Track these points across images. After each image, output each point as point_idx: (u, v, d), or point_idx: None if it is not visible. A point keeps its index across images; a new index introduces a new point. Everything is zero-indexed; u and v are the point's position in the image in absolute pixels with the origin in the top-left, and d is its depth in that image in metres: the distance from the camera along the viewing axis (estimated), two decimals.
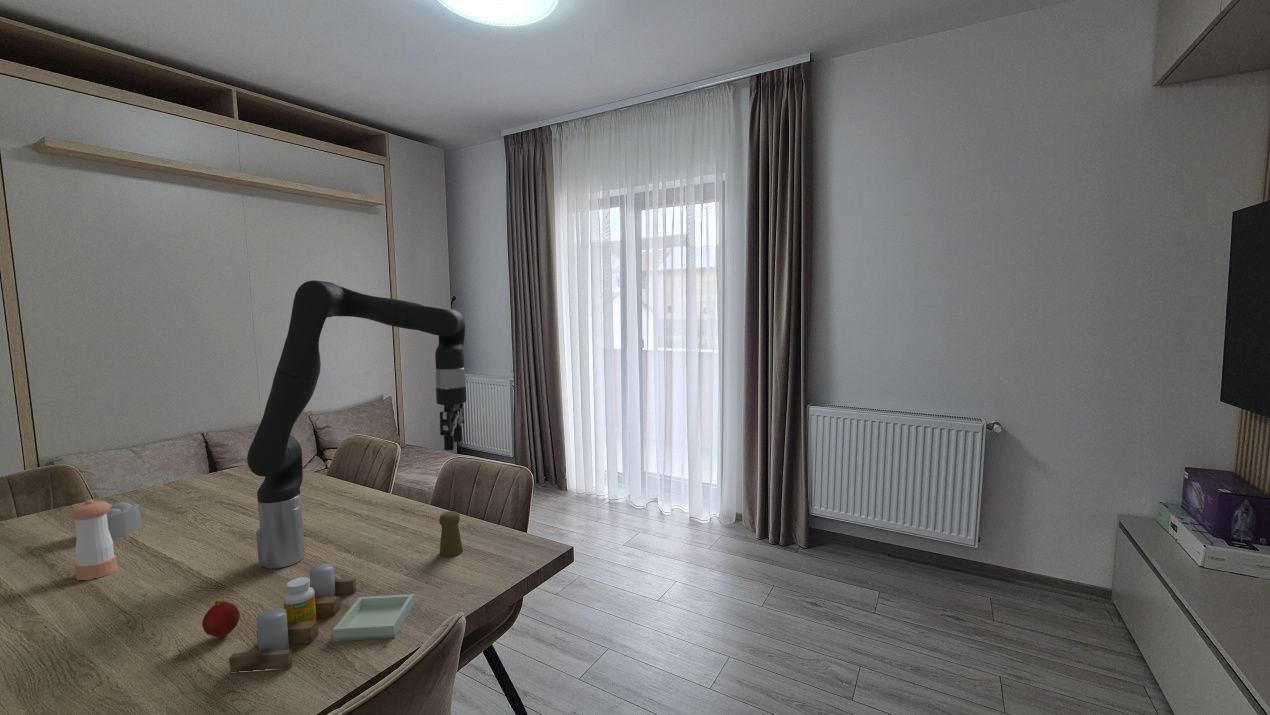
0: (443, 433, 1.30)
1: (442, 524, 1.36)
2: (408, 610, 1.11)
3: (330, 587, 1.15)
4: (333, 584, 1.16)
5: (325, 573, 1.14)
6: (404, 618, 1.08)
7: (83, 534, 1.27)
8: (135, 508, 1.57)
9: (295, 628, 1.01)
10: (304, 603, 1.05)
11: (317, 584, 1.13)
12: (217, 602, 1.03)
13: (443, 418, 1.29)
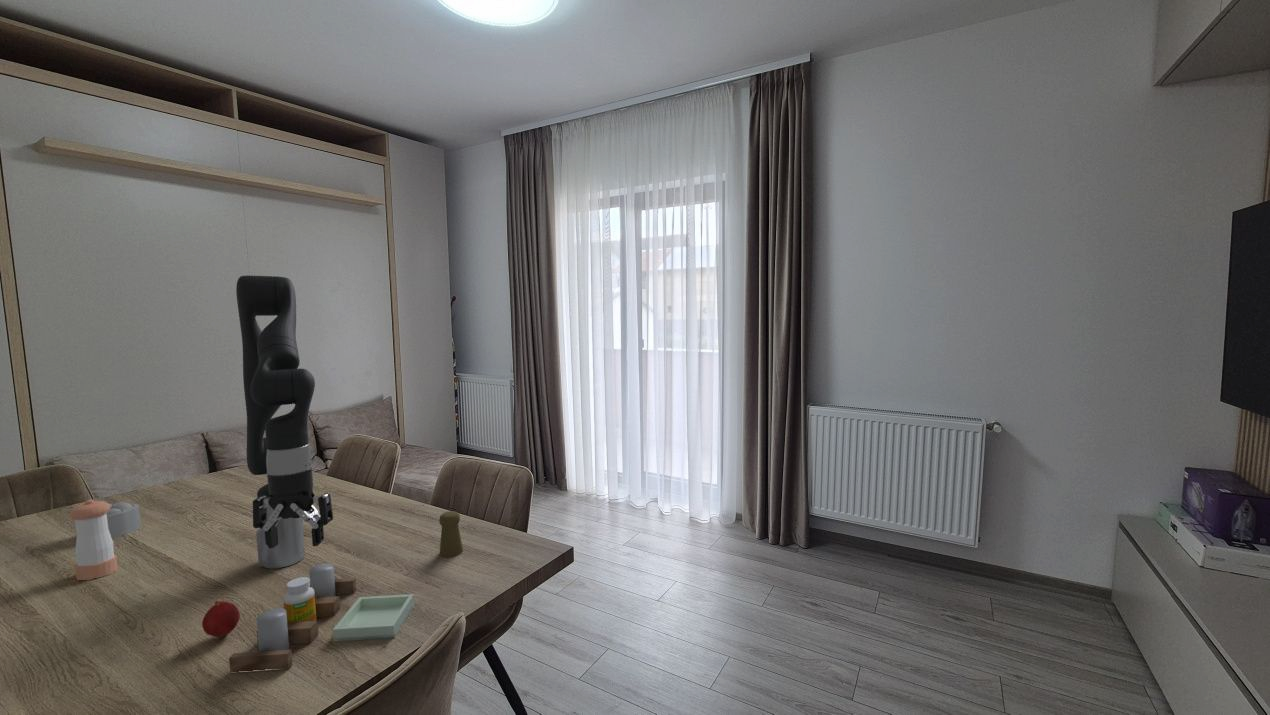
0: (328, 521, 1.05)
1: (442, 524, 1.36)
2: (408, 610, 1.11)
3: (330, 587, 1.15)
4: (333, 584, 1.16)
5: (325, 573, 1.14)
6: (404, 618, 1.08)
7: (83, 534, 1.27)
8: (135, 508, 1.57)
9: (295, 628, 1.01)
10: (304, 603, 1.05)
11: (317, 584, 1.13)
12: (217, 602, 1.03)
13: (327, 502, 1.05)
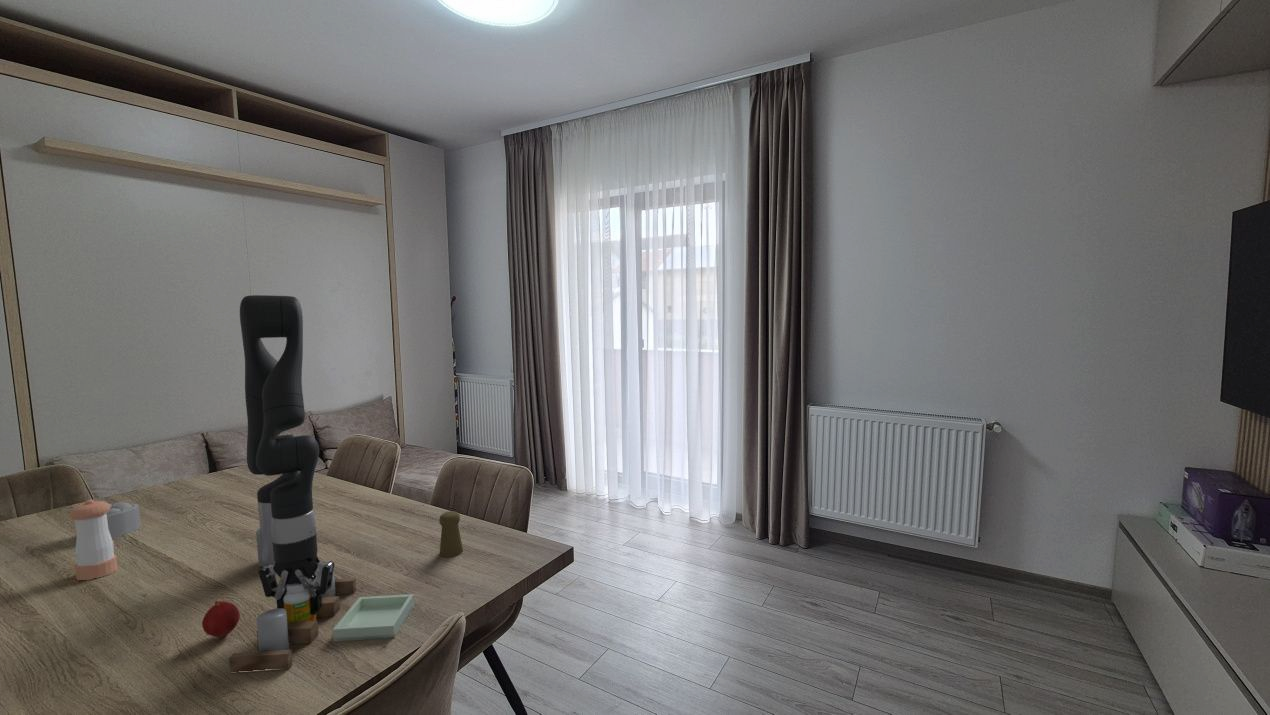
0: (326, 590, 1.06)
1: (442, 524, 1.36)
2: (408, 610, 1.11)
3: (330, 587, 1.15)
4: (333, 584, 1.16)
5: None
6: (404, 618, 1.08)
7: (83, 534, 1.27)
8: (135, 508, 1.57)
9: (295, 628, 1.01)
10: (304, 603, 1.05)
11: None
12: (217, 602, 1.03)
13: (329, 572, 1.06)
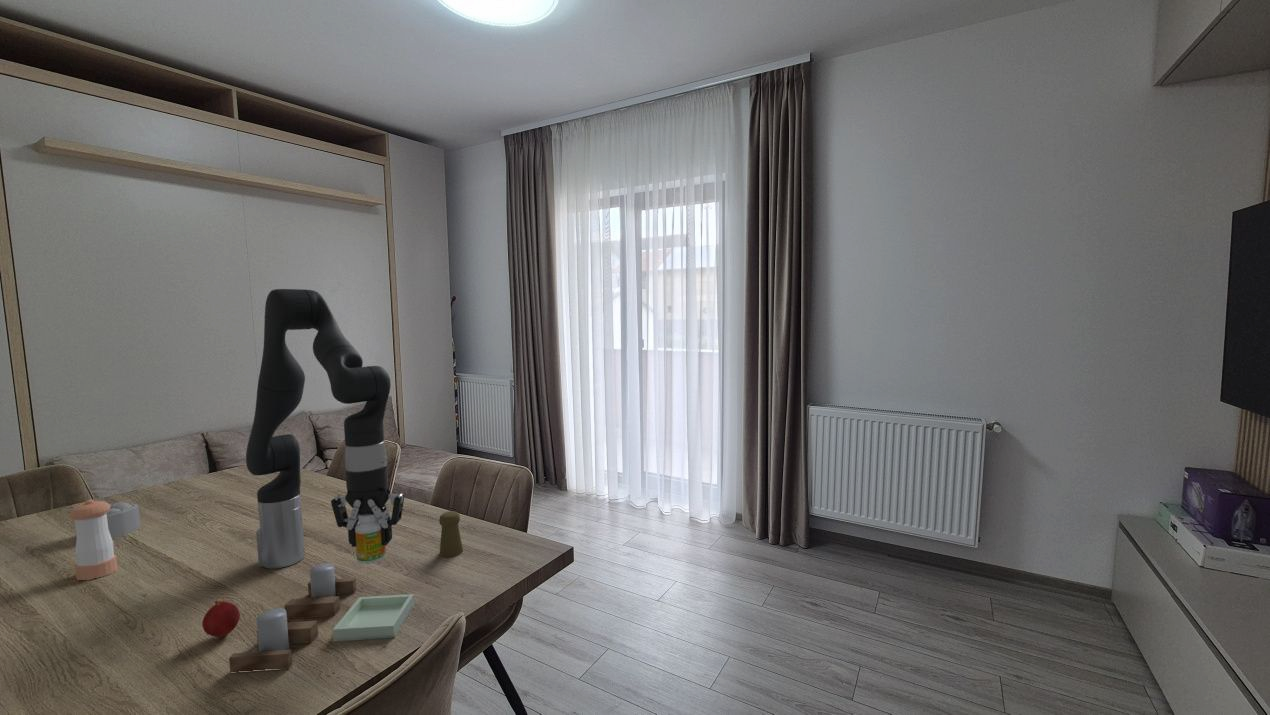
0: (397, 521, 1.06)
1: (442, 524, 1.36)
2: (408, 610, 1.11)
3: (330, 587, 1.15)
4: (333, 584, 1.16)
5: (326, 573, 1.14)
6: (404, 618, 1.08)
7: (83, 534, 1.27)
8: (134, 508, 1.57)
9: (295, 628, 1.01)
10: (376, 534, 1.05)
11: (318, 584, 1.13)
12: (217, 602, 1.03)
13: (401, 503, 1.06)
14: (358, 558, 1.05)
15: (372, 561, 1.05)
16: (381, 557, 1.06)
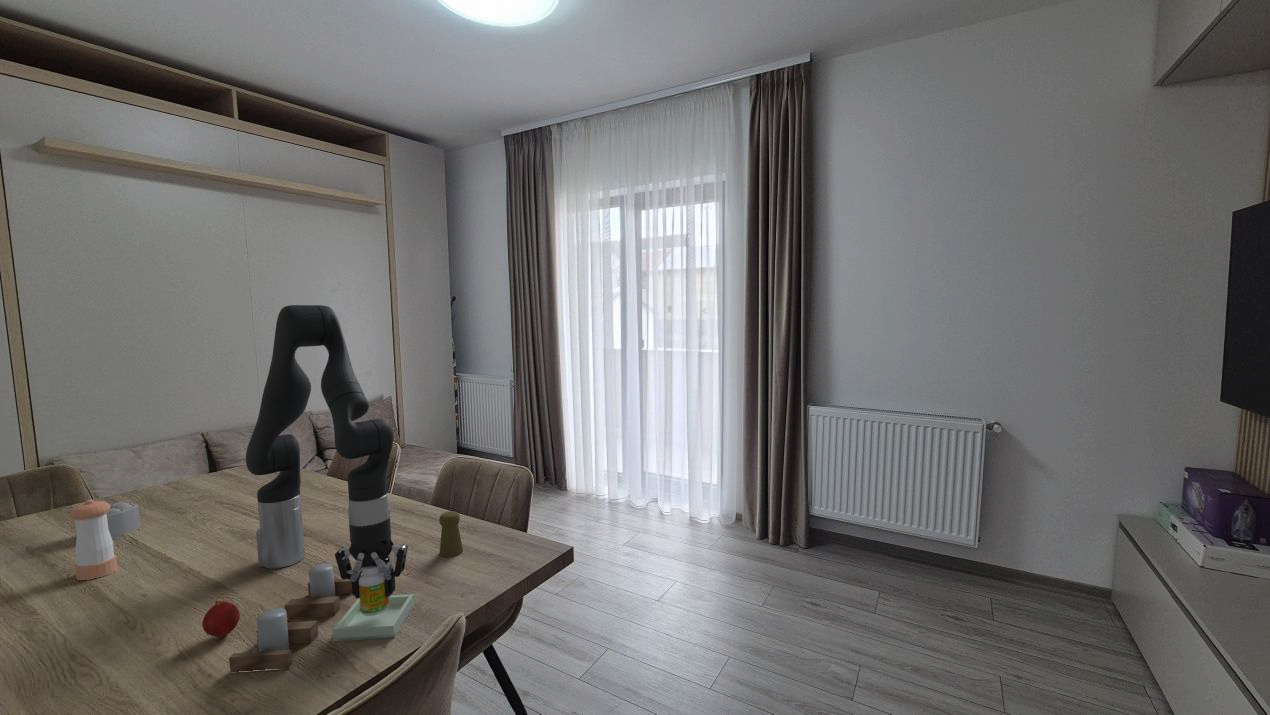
0: (400, 572, 1.07)
1: (442, 524, 1.36)
2: (408, 610, 1.11)
3: (330, 587, 1.15)
4: (333, 584, 1.16)
5: (325, 573, 1.14)
6: (404, 618, 1.08)
7: (83, 534, 1.27)
8: (134, 508, 1.57)
9: (295, 628, 1.01)
10: (379, 586, 1.06)
11: (317, 585, 1.13)
12: (217, 602, 1.03)
13: (404, 555, 1.07)
14: (362, 610, 1.06)
15: (376, 613, 1.05)
16: (384, 608, 1.07)
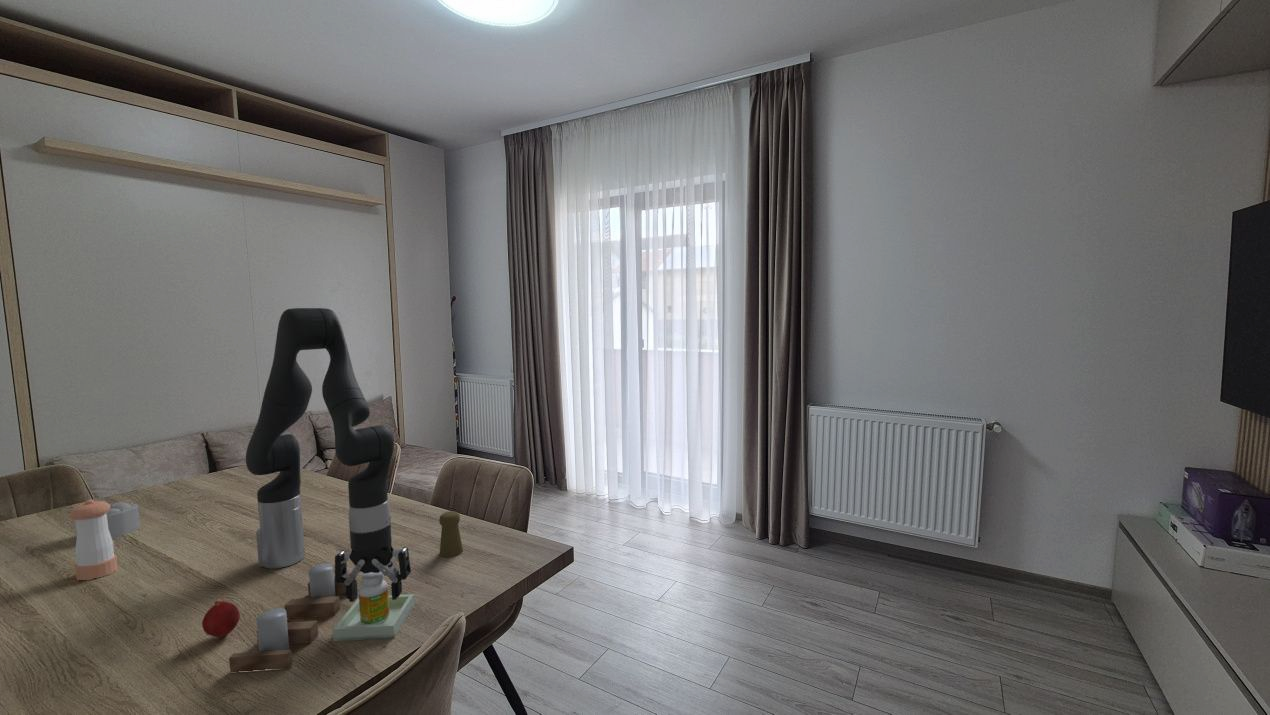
0: (407, 575, 1.07)
1: (442, 524, 1.36)
2: (408, 610, 1.11)
3: (331, 587, 1.15)
4: (333, 583, 1.16)
5: (325, 573, 1.14)
6: (404, 618, 1.08)
7: (83, 534, 1.27)
8: (134, 508, 1.57)
9: (295, 628, 1.01)
10: (379, 596, 1.06)
11: (318, 585, 1.13)
12: (217, 602, 1.03)
13: (406, 557, 1.07)
14: (362, 620, 1.06)
15: (376, 623, 1.06)
16: (384, 619, 1.07)
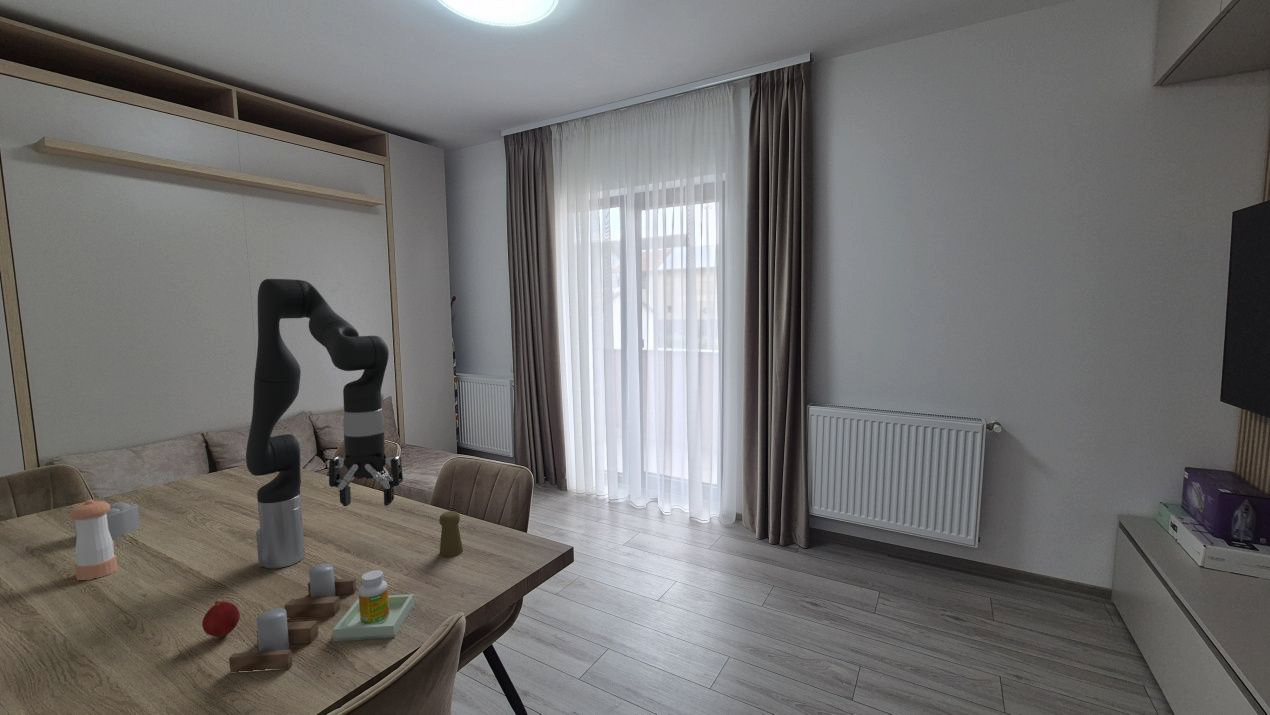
0: (399, 482, 1.10)
1: (442, 524, 1.36)
2: (408, 610, 1.11)
3: (331, 587, 1.15)
4: (334, 583, 1.16)
5: (327, 573, 1.14)
6: (404, 618, 1.08)
7: (83, 534, 1.27)
8: (134, 508, 1.57)
9: (295, 628, 1.01)
10: (379, 596, 1.06)
11: (319, 585, 1.13)
12: (217, 602, 1.03)
13: (398, 464, 1.10)
14: (362, 620, 1.06)
15: (376, 623, 1.06)
16: (384, 619, 1.07)
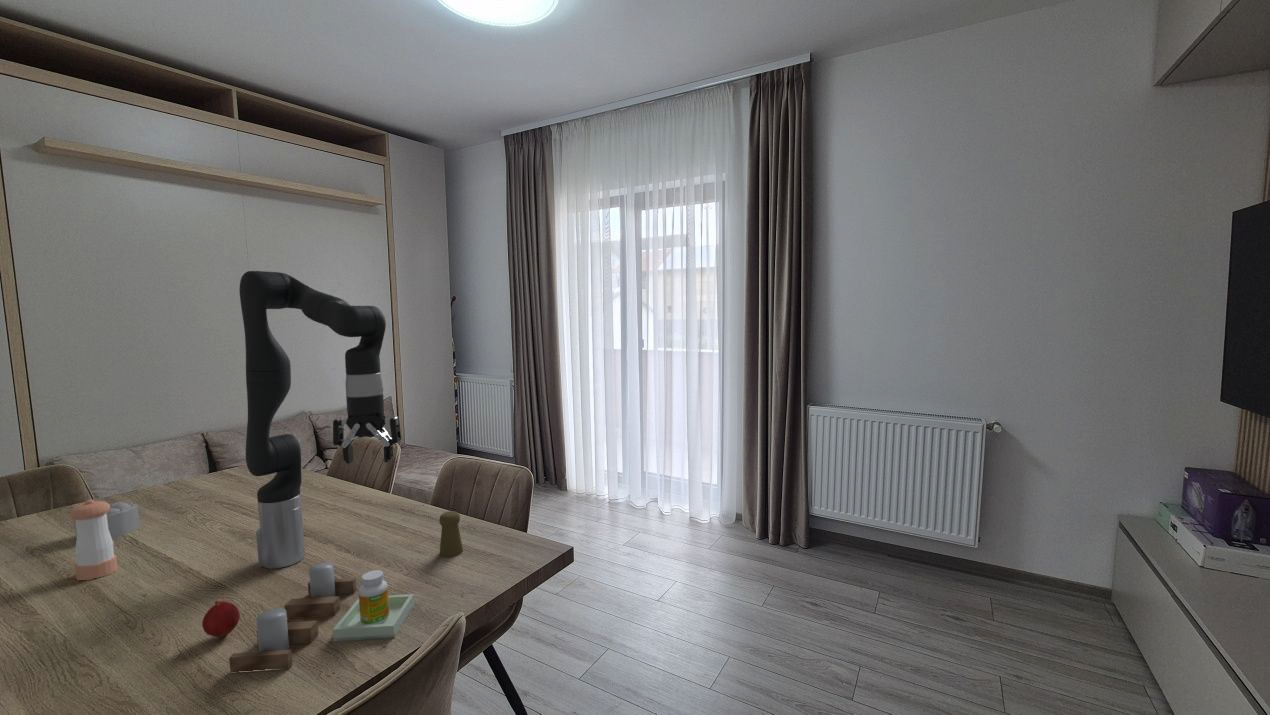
0: (398, 440, 1.20)
1: (442, 524, 1.36)
2: (408, 610, 1.11)
3: (332, 584, 1.16)
4: None
5: (328, 569, 1.15)
6: (404, 618, 1.08)
7: (83, 534, 1.27)
8: (133, 508, 1.57)
9: (295, 628, 1.01)
10: (379, 596, 1.06)
11: (321, 582, 1.14)
12: (217, 602, 1.03)
13: (396, 424, 1.19)
14: (362, 620, 1.06)
15: (376, 623, 1.06)
16: (384, 619, 1.07)
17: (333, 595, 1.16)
